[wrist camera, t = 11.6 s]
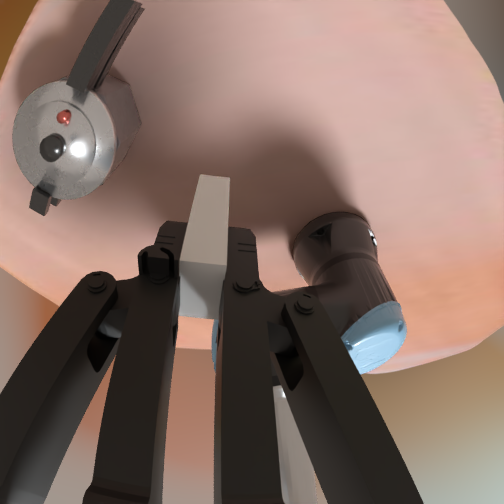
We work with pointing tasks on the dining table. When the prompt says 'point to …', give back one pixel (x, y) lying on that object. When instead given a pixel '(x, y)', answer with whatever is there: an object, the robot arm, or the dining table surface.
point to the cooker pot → (117, 104)
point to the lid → (72, 121)
